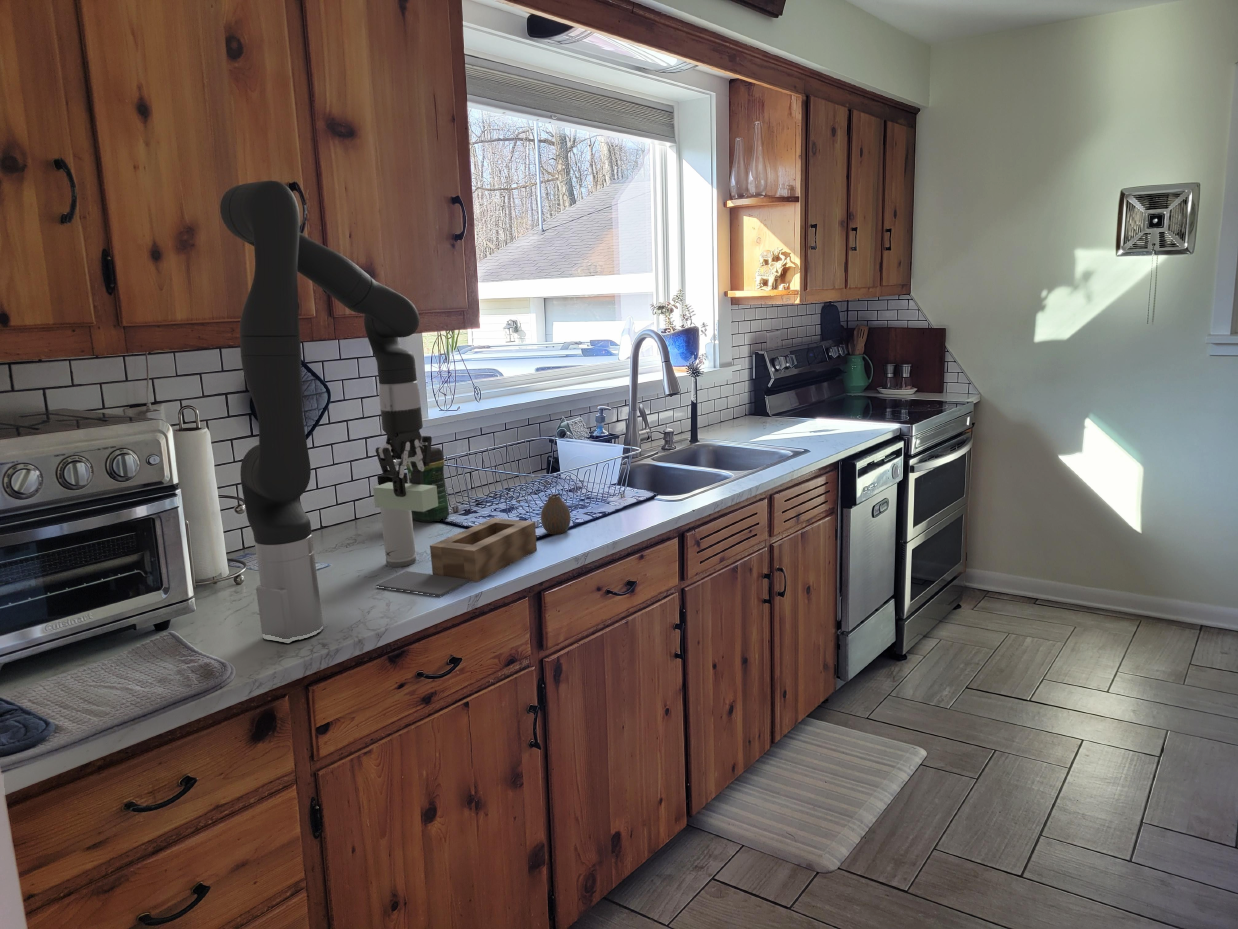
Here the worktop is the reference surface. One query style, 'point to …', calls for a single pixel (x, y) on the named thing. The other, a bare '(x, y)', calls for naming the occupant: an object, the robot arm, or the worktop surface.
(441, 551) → the brown wooden box
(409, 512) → the travel mug
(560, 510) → the vase
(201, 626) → the worktop surface
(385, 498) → the block
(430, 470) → the coffee jar
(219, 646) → the worktop surface
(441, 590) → the grey flat plate
